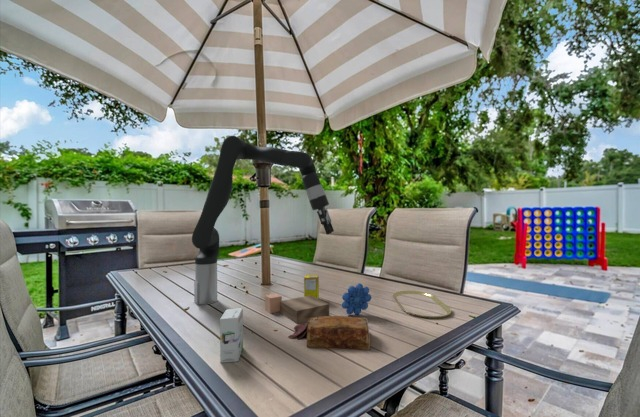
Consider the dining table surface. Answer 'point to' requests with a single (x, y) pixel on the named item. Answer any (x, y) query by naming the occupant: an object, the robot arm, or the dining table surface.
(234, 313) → the ink box
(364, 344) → the cured meat
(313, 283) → the supplement box
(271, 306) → the terracotta block
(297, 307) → the walnut block
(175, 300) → the dining table surface
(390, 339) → the dining table surface
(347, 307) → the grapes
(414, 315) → the yellow oval ring
